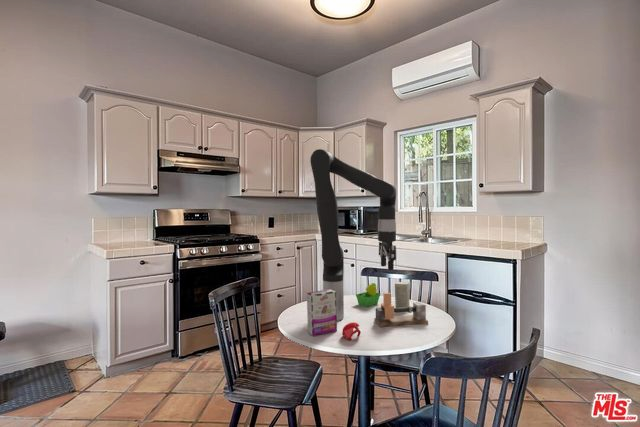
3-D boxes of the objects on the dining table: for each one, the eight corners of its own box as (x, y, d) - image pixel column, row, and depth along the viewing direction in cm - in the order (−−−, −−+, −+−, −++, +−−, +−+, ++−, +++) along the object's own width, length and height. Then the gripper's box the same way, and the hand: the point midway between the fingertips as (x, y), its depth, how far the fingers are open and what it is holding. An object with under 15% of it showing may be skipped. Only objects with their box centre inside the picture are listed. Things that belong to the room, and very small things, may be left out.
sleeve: (385, 319, 148) (384, 295, 147) (380, 315, 153) (380, 291, 153) (394, 318, 148) (394, 294, 148) (389, 314, 154) (389, 291, 153)
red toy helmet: (366, 329, 135) (357, 318, 139) (357, 328, 131) (348, 316, 135) (353, 344, 137) (345, 333, 141) (344, 344, 132) (336, 332, 136)
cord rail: (380, 327, 146) (380, 309, 146) (374, 321, 154) (374, 303, 154) (428, 324, 150) (427, 306, 149) (419, 318, 157) (419, 300, 157)
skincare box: (409, 307, 174) (409, 282, 173) (408, 309, 170) (407, 284, 169) (396, 305, 176) (396, 281, 176) (394, 308, 172) (394, 283, 172)
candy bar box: (331, 327, 147) (330, 288, 146) (337, 331, 142) (336, 291, 142) (306, 332, 142) (306, 292, 141) (312, 336, 137) (311, 294, 137)
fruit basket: (370, 300, 187) (370, 279, 186) (383, 304, 180) (383, 281, 179) (354, 304, 179) (354, 282, 179) (367, 308, 173) (367, 285, 172)
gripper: (373, 228, 156) (373, 265, 156) (384, 231, 142) (384, 271, 142) (389, 228, 157) (389, 264, 158) (402, 231, 143) (402, 270, 144)
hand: (387, 268), depth 150 cm, fingers open, 8 cm apart
